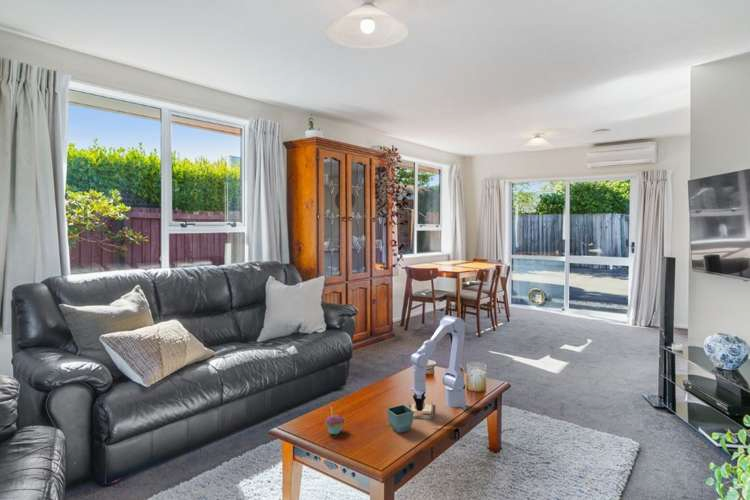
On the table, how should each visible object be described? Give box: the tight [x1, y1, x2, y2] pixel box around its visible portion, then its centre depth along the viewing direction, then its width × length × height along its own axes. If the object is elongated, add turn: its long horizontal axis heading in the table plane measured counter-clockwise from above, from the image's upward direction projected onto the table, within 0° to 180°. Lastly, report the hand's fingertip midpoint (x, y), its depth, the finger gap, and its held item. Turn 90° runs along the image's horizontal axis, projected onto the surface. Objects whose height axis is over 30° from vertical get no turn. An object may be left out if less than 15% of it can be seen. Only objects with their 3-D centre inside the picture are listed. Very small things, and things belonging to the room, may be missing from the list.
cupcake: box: [324, 407, 345, 435], centre depth 195 cm, size 9×8×12 cm
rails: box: [406, 400, 434, 420], centre depth 213 cm, size 12×17×2 cm
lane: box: [409, 403, 431, 412], centre depth 213 cm, size 12×17×1 cm
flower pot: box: [386, 404, 414, 434], centre depth 195 cm, size 9×9×9 cm
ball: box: [413, 401, 426, 410], centre depth 209 cm, size 5×5×5 cm
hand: (419, 408), depth 209 cm, fingers closed on ball, 5 cm apart
